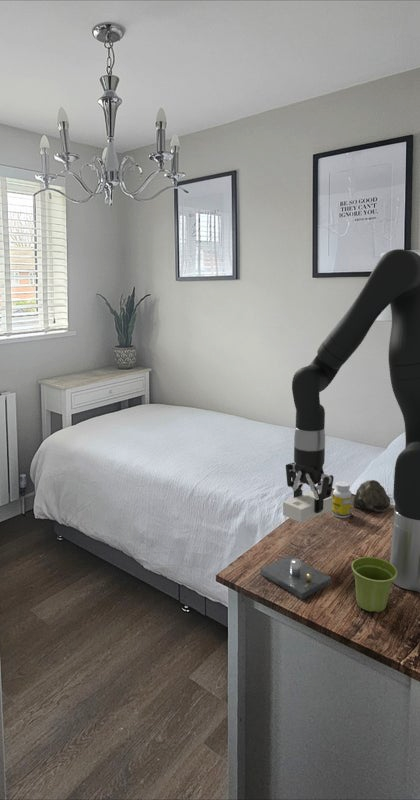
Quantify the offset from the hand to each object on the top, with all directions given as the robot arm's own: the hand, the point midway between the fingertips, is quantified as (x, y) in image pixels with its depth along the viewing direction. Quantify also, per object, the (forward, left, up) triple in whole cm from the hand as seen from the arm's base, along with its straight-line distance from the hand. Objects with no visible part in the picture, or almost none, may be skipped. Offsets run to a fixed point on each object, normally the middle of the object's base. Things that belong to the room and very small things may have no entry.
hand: (307, 507), depth 134 cm
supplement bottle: (+7, -24, -12) cm, 28 cm away
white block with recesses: (0, 0, -1) cm, 1 cm away
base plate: (-8, +13, -12) cm, 19 cm away
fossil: (+5, -35, -12) cm, 37 cm away
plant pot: (-25, +7, -12) cm, 28 cm away
